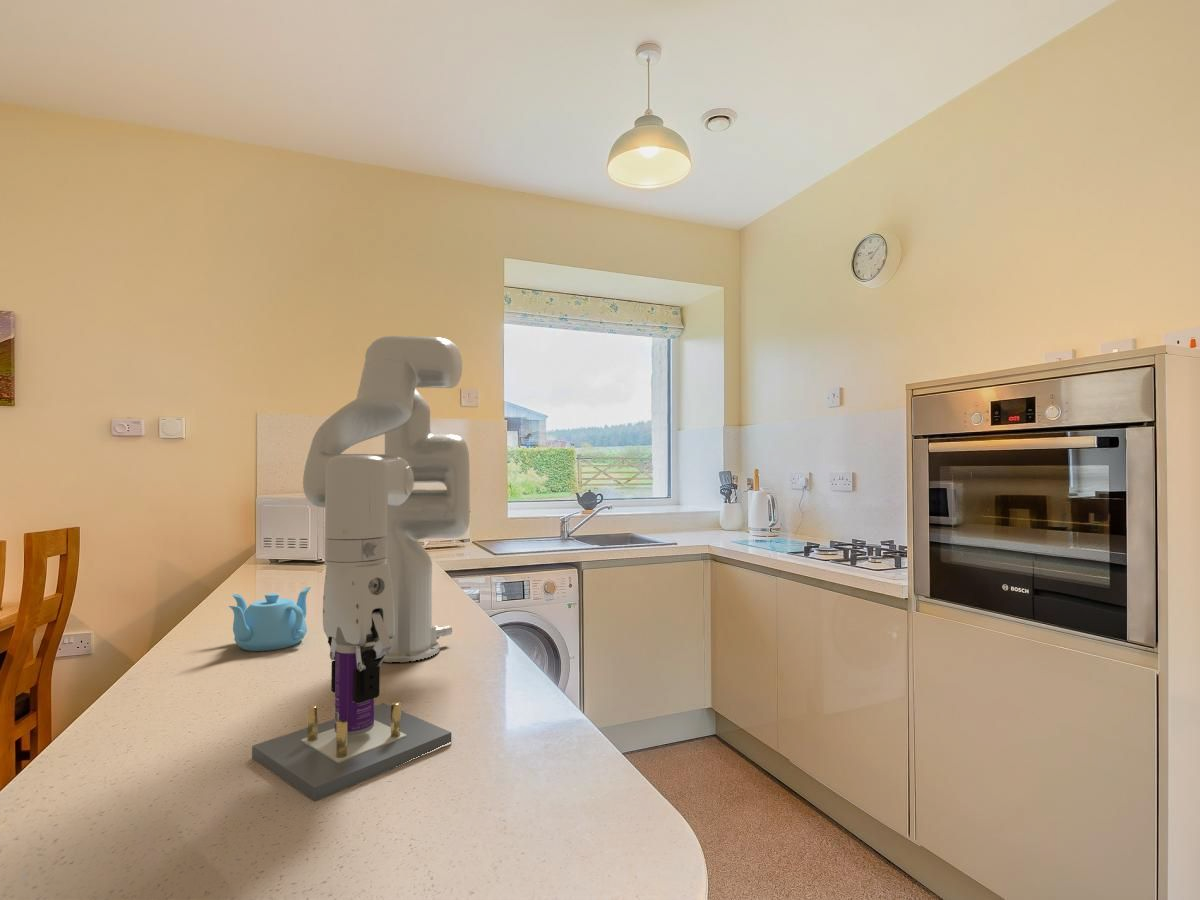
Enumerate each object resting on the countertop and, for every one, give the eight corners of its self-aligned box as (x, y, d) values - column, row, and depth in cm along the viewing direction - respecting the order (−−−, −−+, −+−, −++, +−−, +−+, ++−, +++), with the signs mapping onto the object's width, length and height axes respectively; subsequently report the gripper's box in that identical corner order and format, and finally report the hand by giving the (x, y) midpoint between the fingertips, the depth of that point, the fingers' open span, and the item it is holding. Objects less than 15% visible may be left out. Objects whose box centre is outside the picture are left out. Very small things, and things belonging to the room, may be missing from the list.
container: (360, 737, 76) (361, 614, 76) (326, 734, 77) (327, 612, 77) (381, 721, 81) (382, 606, 81) (349, 719, 82) (350, 604, 82)
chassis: (383, 713, 90) (383, 701, 91) (451, 744, 80) (451, 730, 80) (251, 757, 77) (252, 744, 77) (314, 801, 66) (314, 785, 66)
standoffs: (367, 718, 84) (367, 688, 85) (402, 735, 79) (402, 703, 79) (305, 739, 78) (305, 707, 78) (339, 759, 73) (339, 724, 73)
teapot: (309, 650, 122) (310, 597, 123) (221, 659, 116) (222, 604, 116) (310, 632, 136) (311, 585, 136) (230, 640, 129) (232, 590, 130)
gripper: (420, 553, 77) (419, 701, 76) (349, 543, 88) (348, 672, 87) (364, 561, 71) (363, 721, 71) (296, 548, 82) (294, 687, 81)
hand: (355, 692), depth 79 cm, fingers closed on container, 4 cm apart
